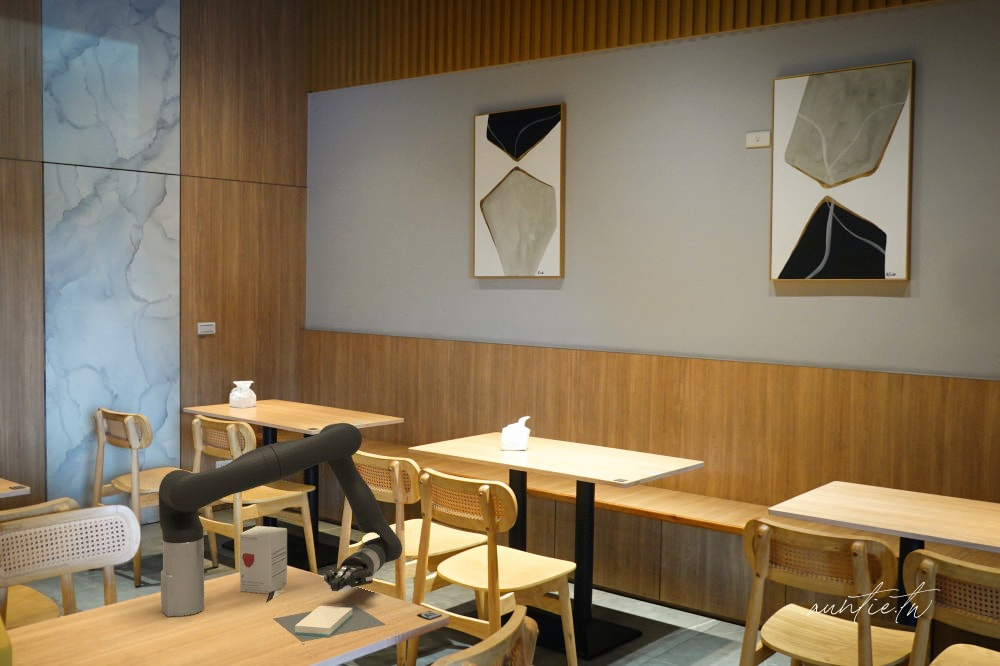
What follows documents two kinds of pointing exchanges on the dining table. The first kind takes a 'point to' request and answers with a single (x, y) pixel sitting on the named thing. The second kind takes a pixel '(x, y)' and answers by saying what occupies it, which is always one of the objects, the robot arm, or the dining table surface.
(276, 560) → the supplement box
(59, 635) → the dining table surface
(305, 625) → the tile
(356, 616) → the mat
